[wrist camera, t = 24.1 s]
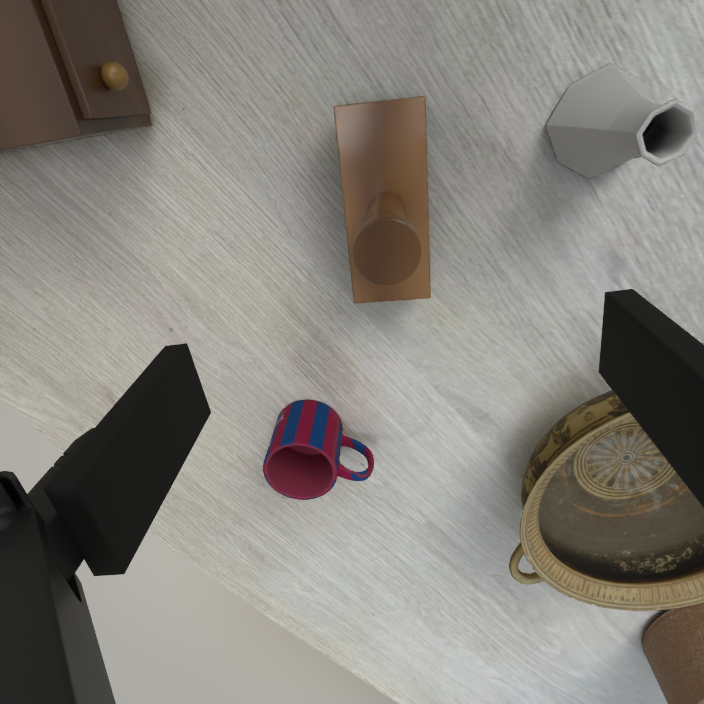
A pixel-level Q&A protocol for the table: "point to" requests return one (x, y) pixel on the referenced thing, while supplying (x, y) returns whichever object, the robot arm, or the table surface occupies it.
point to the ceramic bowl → (609, 515)
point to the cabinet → (66, 73)
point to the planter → (678, 653)
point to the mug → (309, 451)
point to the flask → (617, 124)
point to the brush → (385, 197)
